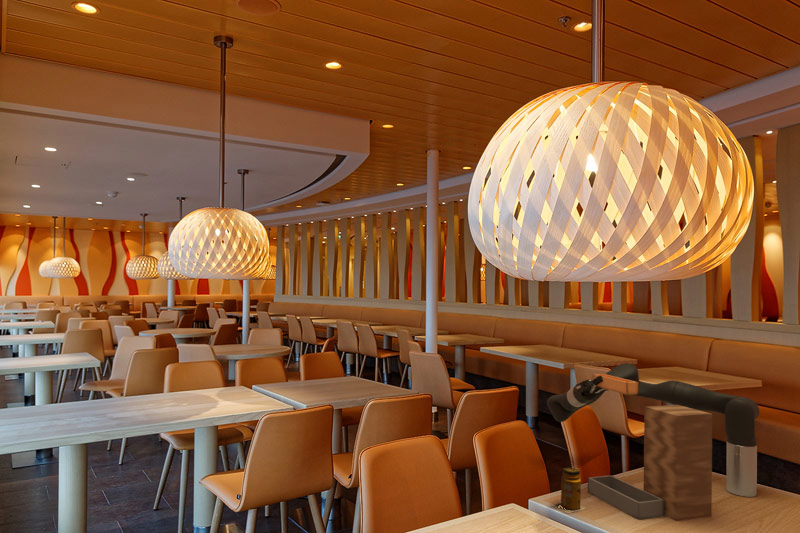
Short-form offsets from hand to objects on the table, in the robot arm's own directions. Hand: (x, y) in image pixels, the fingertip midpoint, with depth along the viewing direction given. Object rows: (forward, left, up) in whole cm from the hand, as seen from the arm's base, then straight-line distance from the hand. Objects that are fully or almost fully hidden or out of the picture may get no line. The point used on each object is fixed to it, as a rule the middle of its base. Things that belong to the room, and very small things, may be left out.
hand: (607, 378), depth 202 cm
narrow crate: (+2, +3, -3) cm, 5 cm away
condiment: (+23, -7, -40) cm, 46 cm away
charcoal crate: (+9, +7, -39) cm, 41 cm away
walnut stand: (+5, +23, -39) cm, 46 cm away
